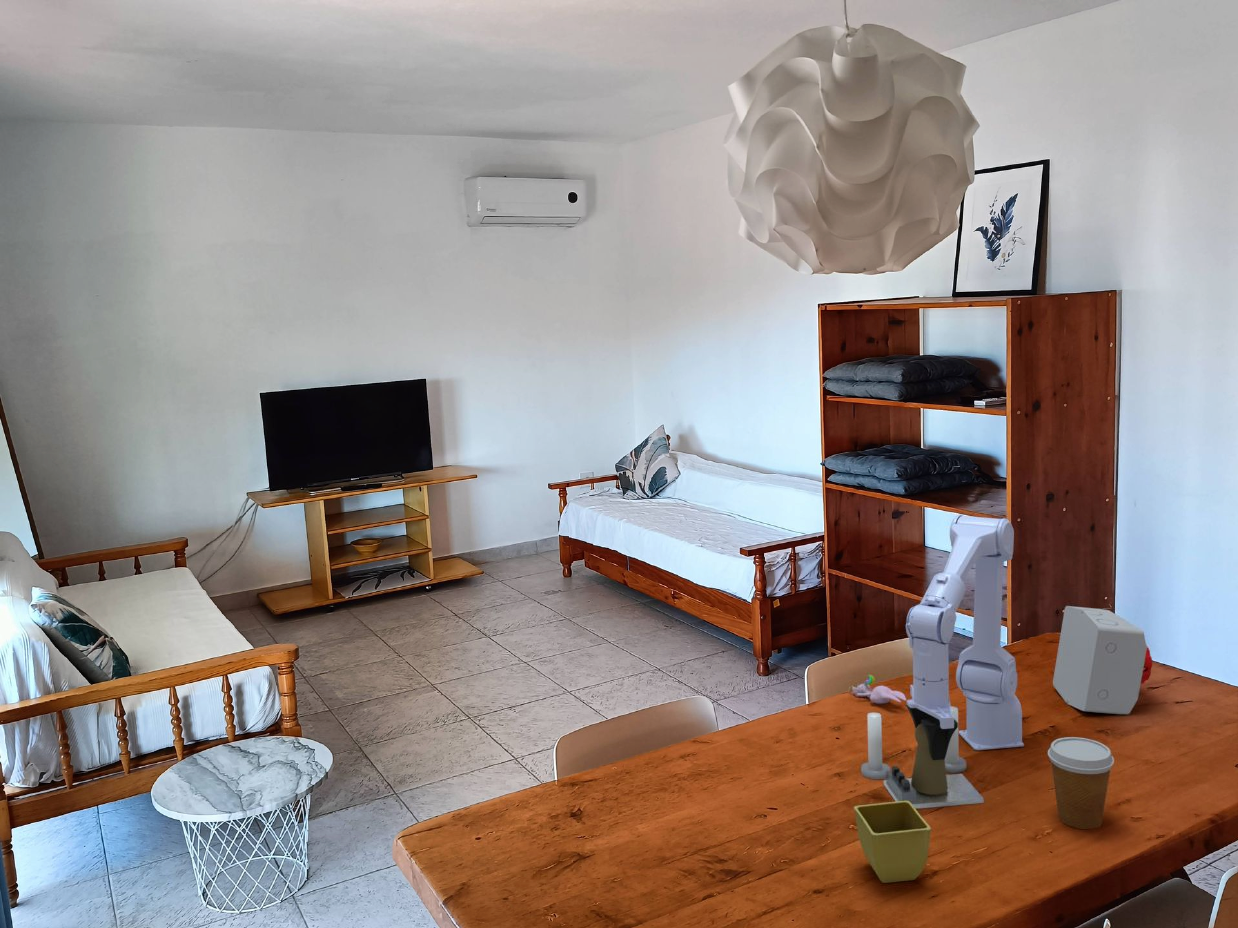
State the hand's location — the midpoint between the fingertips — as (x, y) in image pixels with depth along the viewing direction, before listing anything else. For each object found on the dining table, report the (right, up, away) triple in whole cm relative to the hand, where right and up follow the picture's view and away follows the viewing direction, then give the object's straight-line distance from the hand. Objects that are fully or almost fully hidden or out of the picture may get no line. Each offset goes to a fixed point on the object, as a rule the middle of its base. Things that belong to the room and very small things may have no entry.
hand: (931, 751), depth 166 cm
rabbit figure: (+2, -2, +41) cm, 41 cm away
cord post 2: (+7, -6, +10) cm, 14 cm away
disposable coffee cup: (+21, -8, -10) cm, 24 cm away
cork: (0, -6, +1) cm, 7 cm away
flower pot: (-13, -12, -21) cm, 28 cm away
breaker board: (+1, -8, +1) cm, 8 cm away
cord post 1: (-7, -7, +10) cm, 14 cm away
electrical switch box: (+47, 0, +34) cm, 58 cm away
